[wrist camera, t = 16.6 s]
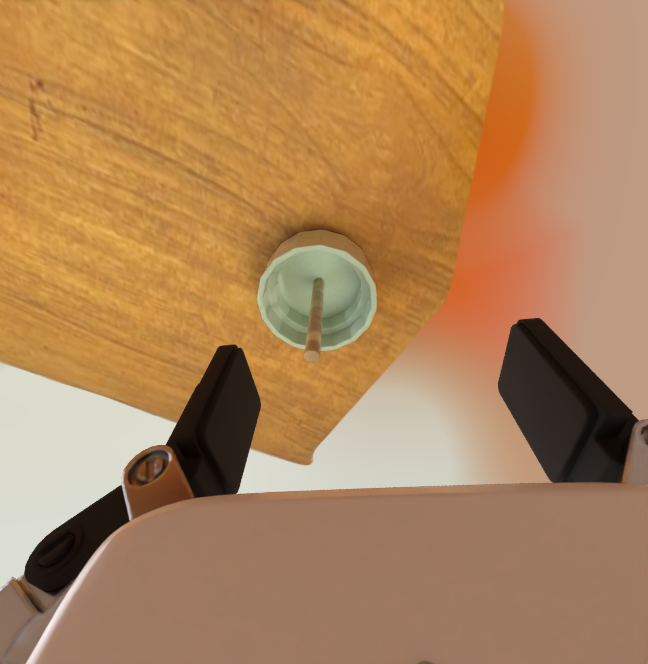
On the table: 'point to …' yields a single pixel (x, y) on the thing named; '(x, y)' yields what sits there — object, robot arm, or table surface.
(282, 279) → the bowl
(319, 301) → the stick
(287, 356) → the table surface
